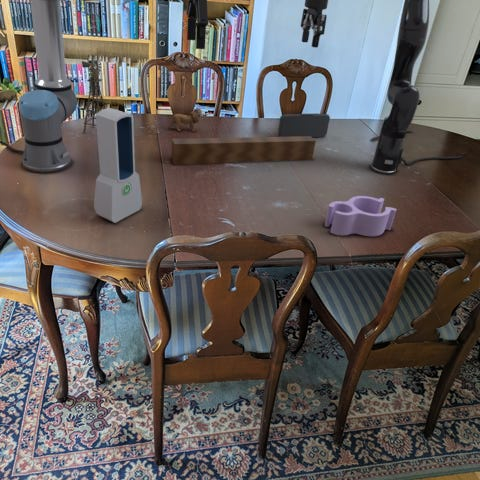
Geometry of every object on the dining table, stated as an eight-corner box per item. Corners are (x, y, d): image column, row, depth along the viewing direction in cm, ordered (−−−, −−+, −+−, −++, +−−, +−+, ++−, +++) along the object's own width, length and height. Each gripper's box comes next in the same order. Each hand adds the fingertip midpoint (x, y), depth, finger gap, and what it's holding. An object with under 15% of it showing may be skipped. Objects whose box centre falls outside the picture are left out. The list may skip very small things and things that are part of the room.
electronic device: (112, 224, 131) (106, 120, 115) (93, 216, 134) (84, 113, 118) (143, 208, 140) (140, 109, 124) (124, 200, 143) (119, 103, 127)
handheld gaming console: (323, 134, 210) (328, 113, 204) (326, 137, 208) (331, 115, 202) (276, 136, 203) (280, 113, 197) (279, 138, 201) (282, 115, 195)
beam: (174, 164, 169) (174, 144, 164) (171, 159, 173) (171, 138, 168) (312, 159, 185) (315, 140, 180) (307, 154, 189) (310, 136, 184)
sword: (408, 129, 227) (409, 127, 226) (413, 131, 225) (414, 129, 224) (366, 140, 211) (366, 138, 210) (371, 143, 209) (371, 140, 208)
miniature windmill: (102, 136, 185) (96, 56, 168) (82, 132, 186) (74, 53, 169) (112, 128, 192) (107, 52, 176) (92, 125, 193) (86, 49, 177)
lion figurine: (199, 126, 204) (200, 106, 199) (202, 131, 200) (204, 110, 195) (166, 128, 199) (166, 107, 194) (169, 132, 195) (169, 111, 190)
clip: (337, 240, 135) (342, 219, 131) (318, 218, 145) (322, 198, 141) (395, 233, 141) (402, 213, 137) (373, 213, 151) (378, 194, 147)
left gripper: (221, -27, 131) (216, 53, 142) (201, -34, 150) (198, 37, 162) (195, -29, 128) (192, 52, 140) (178, -36, 148) (177, 36, 160)
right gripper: (338, -5, 148) (328, 49, 157) (319, -10, 160) (310, 40, 168) (316, -6, 146) (307, 48, 155) (299, -12, 157) (291, 40, 166)
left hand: (195, 44), depth 151 cm, fingers open, 13 cm apart
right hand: (309, 44), depth 162 cm, fingers open, 8 cm apart
